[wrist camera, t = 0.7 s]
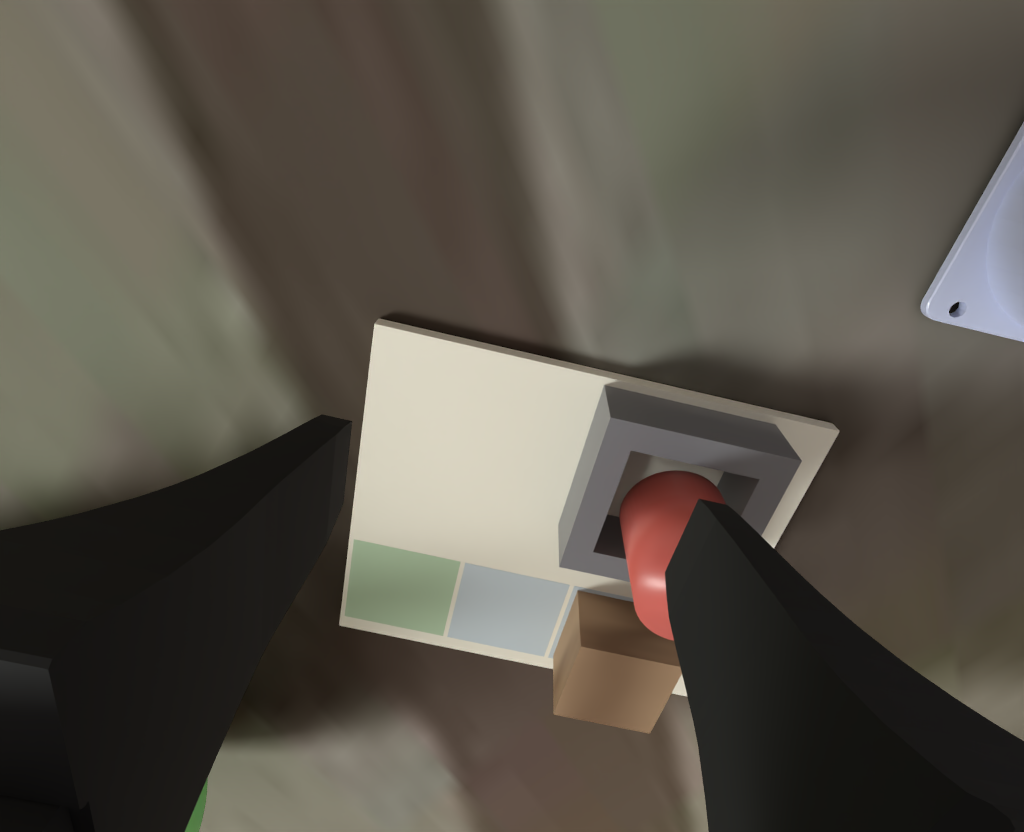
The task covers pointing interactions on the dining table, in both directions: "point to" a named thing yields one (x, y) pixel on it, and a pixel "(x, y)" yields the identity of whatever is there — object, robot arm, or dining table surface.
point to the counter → (612, 665)
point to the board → (495, 490)
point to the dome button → (658, 536)
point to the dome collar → (673, 435)
